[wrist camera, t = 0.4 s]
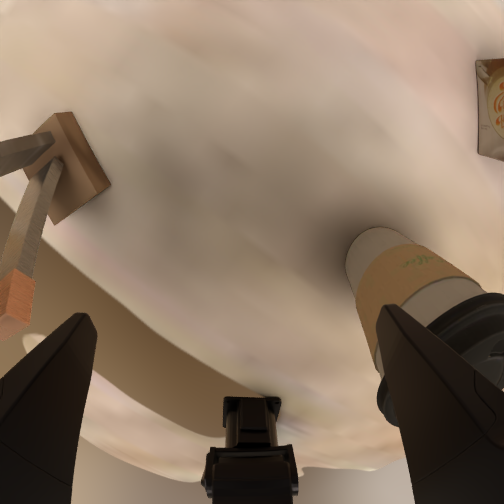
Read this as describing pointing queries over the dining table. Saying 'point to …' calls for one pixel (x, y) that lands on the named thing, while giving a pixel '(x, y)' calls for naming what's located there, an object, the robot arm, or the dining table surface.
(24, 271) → the block
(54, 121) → the stand
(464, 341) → the coffee cup
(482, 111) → the coffee box
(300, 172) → the dining table surface
